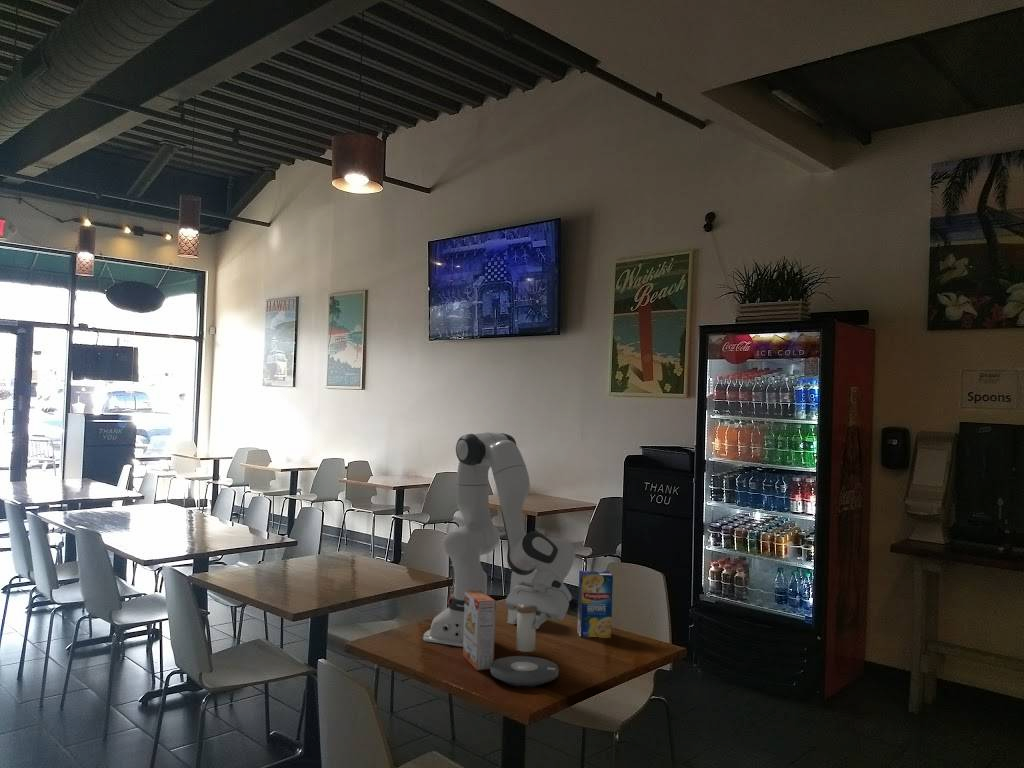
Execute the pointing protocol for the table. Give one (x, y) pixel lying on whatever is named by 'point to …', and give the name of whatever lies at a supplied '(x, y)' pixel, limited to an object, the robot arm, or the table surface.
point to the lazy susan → (524, 670)
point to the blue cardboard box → (595, 604)
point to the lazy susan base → (522, 684)
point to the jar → (525, 627)
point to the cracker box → (479, 629)
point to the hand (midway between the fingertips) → (525, 625)
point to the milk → (518, 579)
